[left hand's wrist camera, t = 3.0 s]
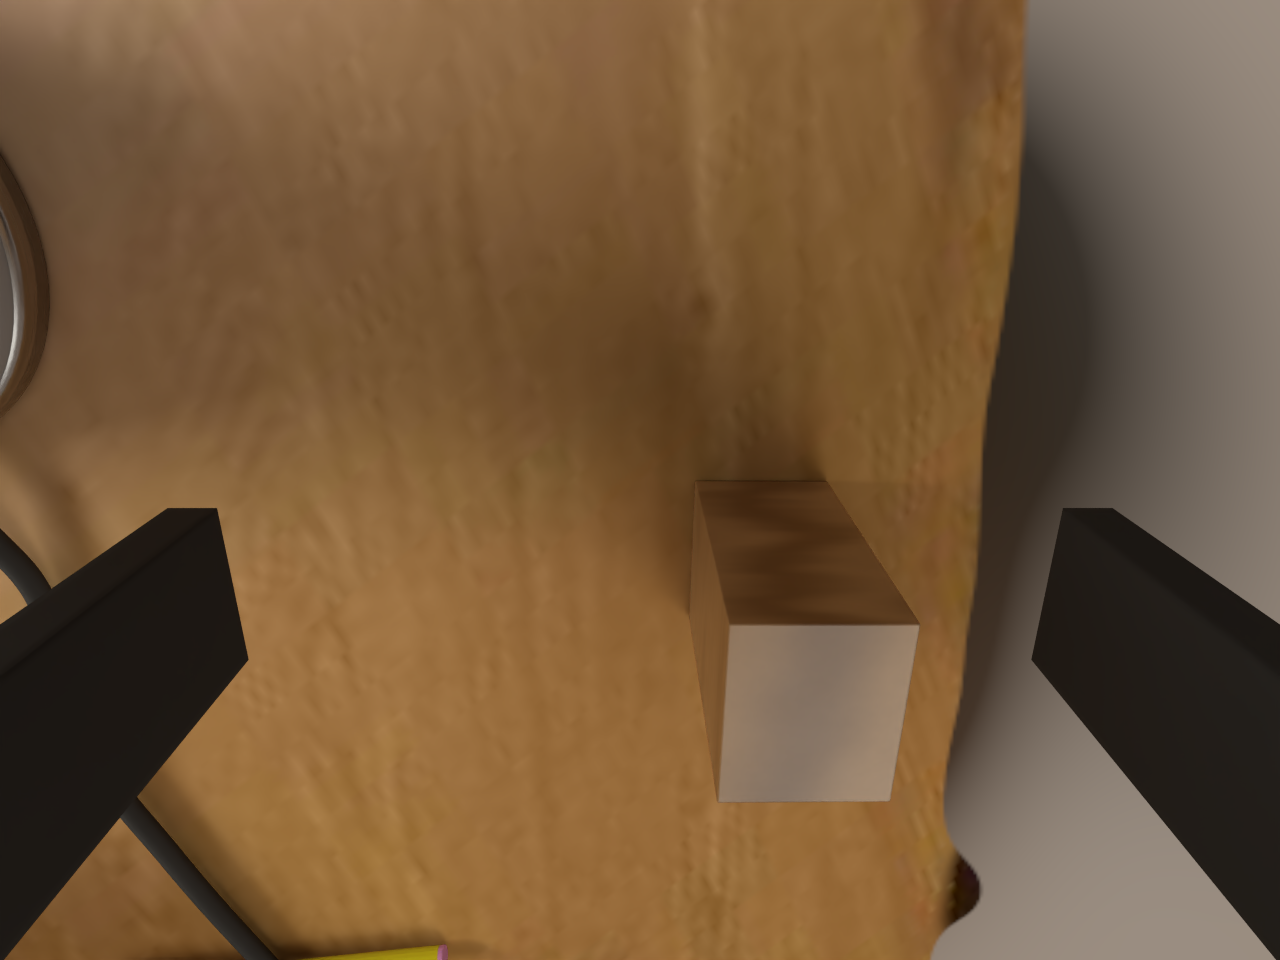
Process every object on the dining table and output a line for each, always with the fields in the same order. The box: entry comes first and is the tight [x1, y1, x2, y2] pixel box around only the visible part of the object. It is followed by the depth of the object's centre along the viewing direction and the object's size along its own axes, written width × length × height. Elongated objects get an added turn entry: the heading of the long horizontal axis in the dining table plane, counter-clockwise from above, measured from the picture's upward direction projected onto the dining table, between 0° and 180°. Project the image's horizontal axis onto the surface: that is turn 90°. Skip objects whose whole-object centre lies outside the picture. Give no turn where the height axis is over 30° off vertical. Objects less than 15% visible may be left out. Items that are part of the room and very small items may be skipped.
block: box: [689, 481, 920, 803], centre depth 27 cm, size 5×6×10 cm
